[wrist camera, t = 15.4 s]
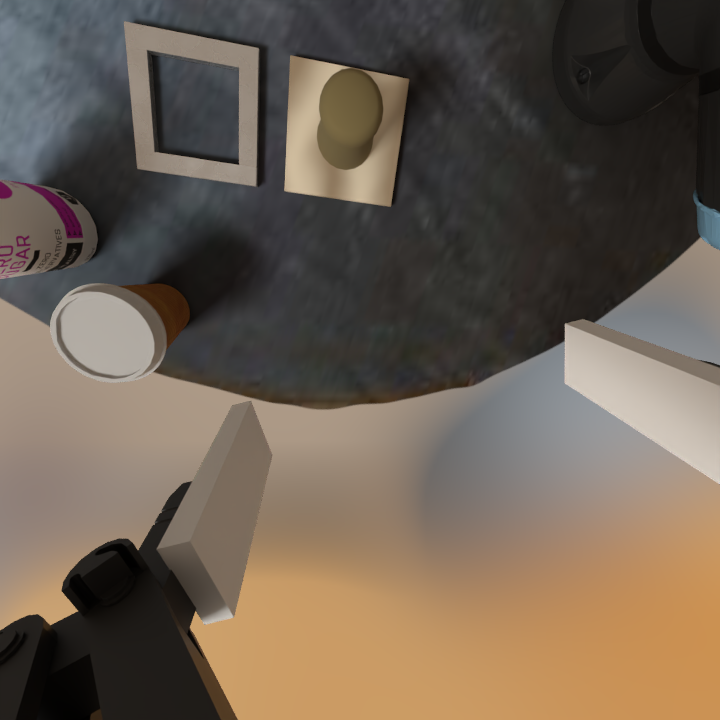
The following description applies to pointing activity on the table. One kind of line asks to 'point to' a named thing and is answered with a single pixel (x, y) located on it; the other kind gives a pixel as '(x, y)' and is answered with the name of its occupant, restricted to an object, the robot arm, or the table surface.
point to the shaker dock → (141, 80)
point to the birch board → (302, 151)
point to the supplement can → (42, 230)
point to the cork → (348, 118)
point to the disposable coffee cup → (118, 328)
